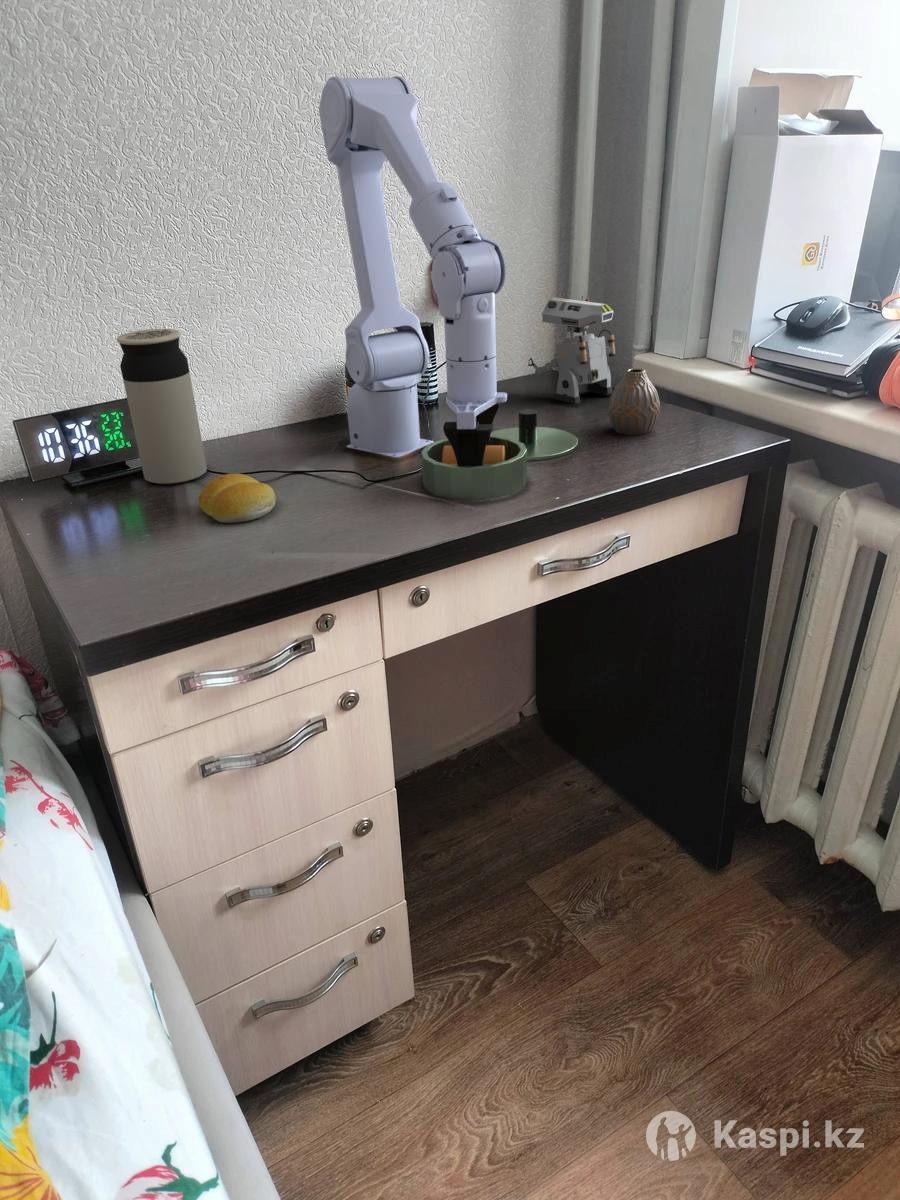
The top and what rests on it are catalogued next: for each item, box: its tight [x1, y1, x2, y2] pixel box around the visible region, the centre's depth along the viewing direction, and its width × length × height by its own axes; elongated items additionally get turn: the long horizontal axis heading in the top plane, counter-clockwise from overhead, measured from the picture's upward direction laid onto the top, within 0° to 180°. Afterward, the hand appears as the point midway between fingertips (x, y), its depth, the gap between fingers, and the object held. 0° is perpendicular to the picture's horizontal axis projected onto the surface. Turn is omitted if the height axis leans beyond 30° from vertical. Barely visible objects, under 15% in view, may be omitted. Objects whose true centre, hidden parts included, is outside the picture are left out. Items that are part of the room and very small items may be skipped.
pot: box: [420, 435, 528, 501], centre depth 105 cm, size 12×12×4 cm
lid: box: [490, 408, 579, 462], centre depth 116 cm, size 13×13×5 cm
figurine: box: [527, 297, 617, 405], centre depth 136 cm, size 9×12×15 cm
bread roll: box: [197, 472, 276, 524], centre depth 101 cm, size 8×9×4 cm
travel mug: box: [116, 328, 208, 485], centre depth 110 cm, size 8×8×18 cm
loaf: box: [442, 445, 505, 465], centre depth 105 cm, size 7×4×4 cm, turn 83°
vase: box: [608, 367, 661, 436], centre depth 119 cm, size 7×7×9 cm
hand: (474, 470), depth 105 cm, fingers open, 7 cm apart
